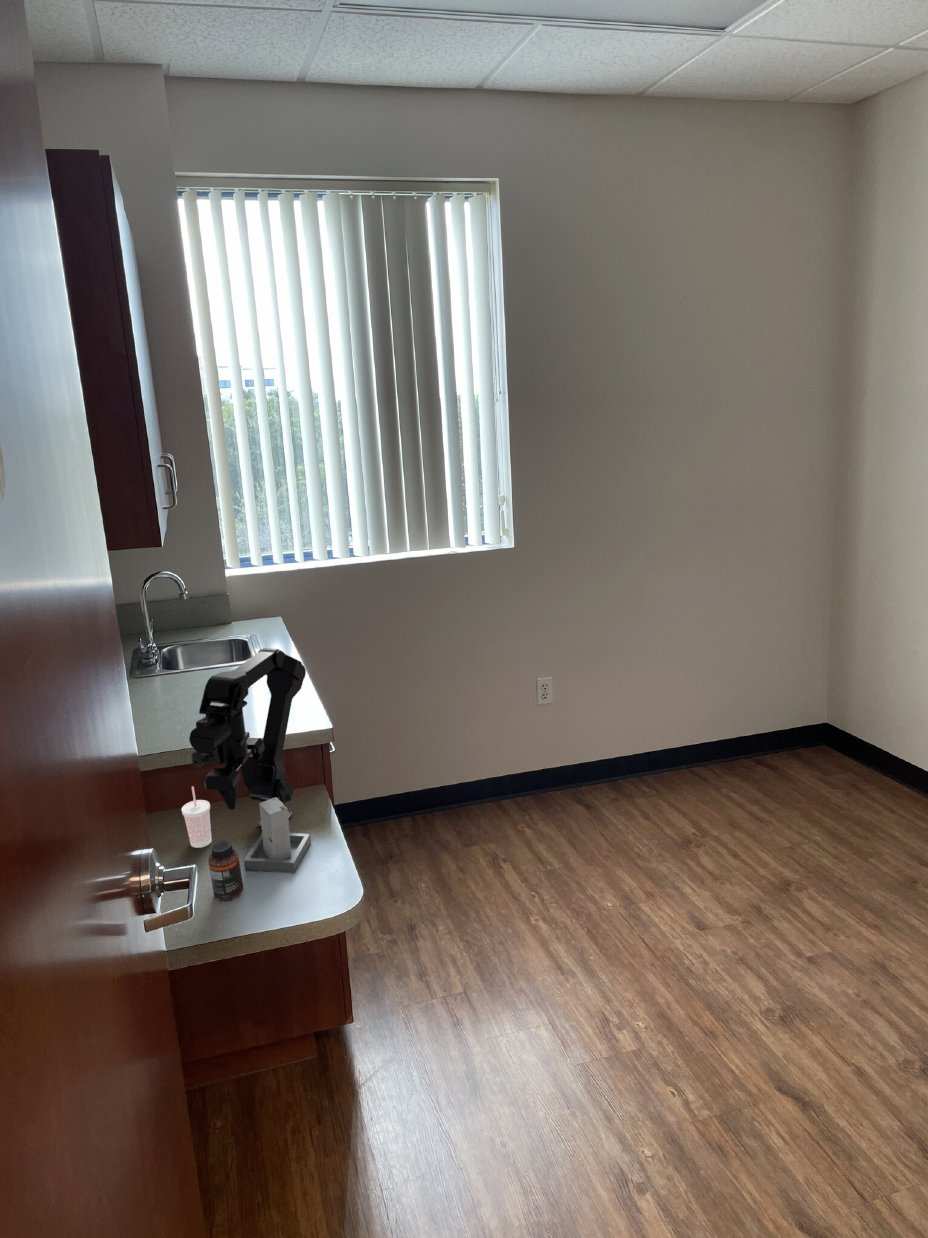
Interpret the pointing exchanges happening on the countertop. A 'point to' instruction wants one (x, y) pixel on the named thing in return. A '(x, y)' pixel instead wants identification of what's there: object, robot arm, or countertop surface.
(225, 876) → the supplement bottle
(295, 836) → the tray
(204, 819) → the beverage cup
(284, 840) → the skincare box
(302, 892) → the countertop surface
